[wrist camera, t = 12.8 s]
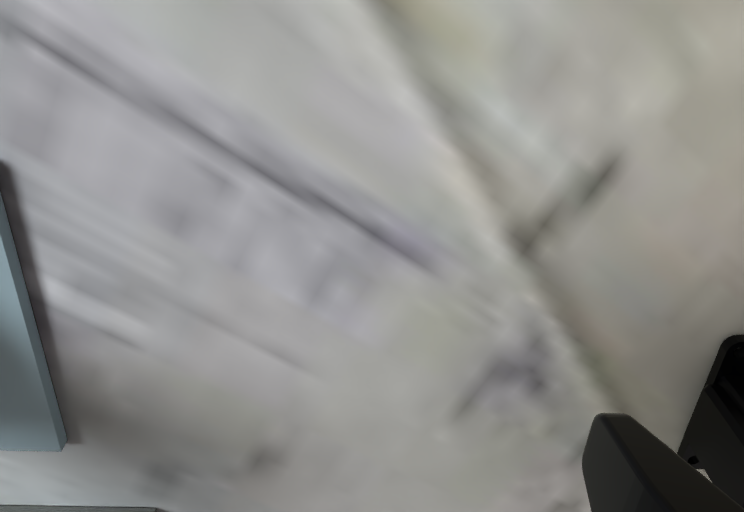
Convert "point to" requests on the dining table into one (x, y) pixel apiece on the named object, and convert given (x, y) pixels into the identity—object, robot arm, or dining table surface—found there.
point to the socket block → (71, 509)
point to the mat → (23, 363)
